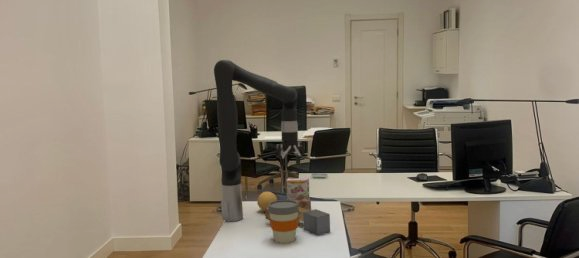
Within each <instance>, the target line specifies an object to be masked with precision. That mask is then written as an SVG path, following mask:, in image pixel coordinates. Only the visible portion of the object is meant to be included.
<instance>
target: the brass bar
mask: <svg viewBox="0 0 579 258" xmlns="http://www.w3.org/2000/svg"><path fill="white" fill-rule="evenodd" d="M307 211H310V210H307V209H304V208H301V207H299V211H298V221H299V222H302V223H304V221H303V212H307Z"/></svg>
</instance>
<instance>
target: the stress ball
mask: <svg viewBox="0 0 579 258" xmlns="http://www.w3.org/2000/svg"><path fill="white" fill-rule="evenodd" d="M274 201H278V199H277V196H276V195H275V194H274V193H273V192H271V191H263V192H262V193H260V194H259V195H258V197H257V202H256V203H257V206H258V207H259V209H260V210H261V211H263V212H265V208H267V207H269V204H270V203H271V202H274Z"/></svg>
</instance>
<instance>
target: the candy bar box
mask: <svg viewBox="0 0 579 258" xmlns="http://www.w3.org/2000/svg"><path fill="white" fill-rule="evenodd" d="M285 186H286V188H285V190H286V200H292V201H293V200H297V199H298V200H302V199H307V200H310V178H309V177H308V178H286V180H285Z"/></svg>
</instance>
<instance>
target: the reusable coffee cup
mask: <svg viewBox="0 0 579 258" xmlns="http://www.w3.org/2000/svg"><path fill="white" fill-rule="evenodd" d="M268 211H269V213H270V218H269V219H270V220H269V223H270V224H269V225H270V229H271V230H272V235H273V240H275V242H276V243H278V242H280V243H279V244H288V243H292V241H293V242H294V241H296V237H297V229H298V226H299V220H298V211H299V207H298V203H297V202H296V201H292V200H287V199H279V200H278V199H277V201H274V202H271V203H270V204H269V210H268Z"/></svg>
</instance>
